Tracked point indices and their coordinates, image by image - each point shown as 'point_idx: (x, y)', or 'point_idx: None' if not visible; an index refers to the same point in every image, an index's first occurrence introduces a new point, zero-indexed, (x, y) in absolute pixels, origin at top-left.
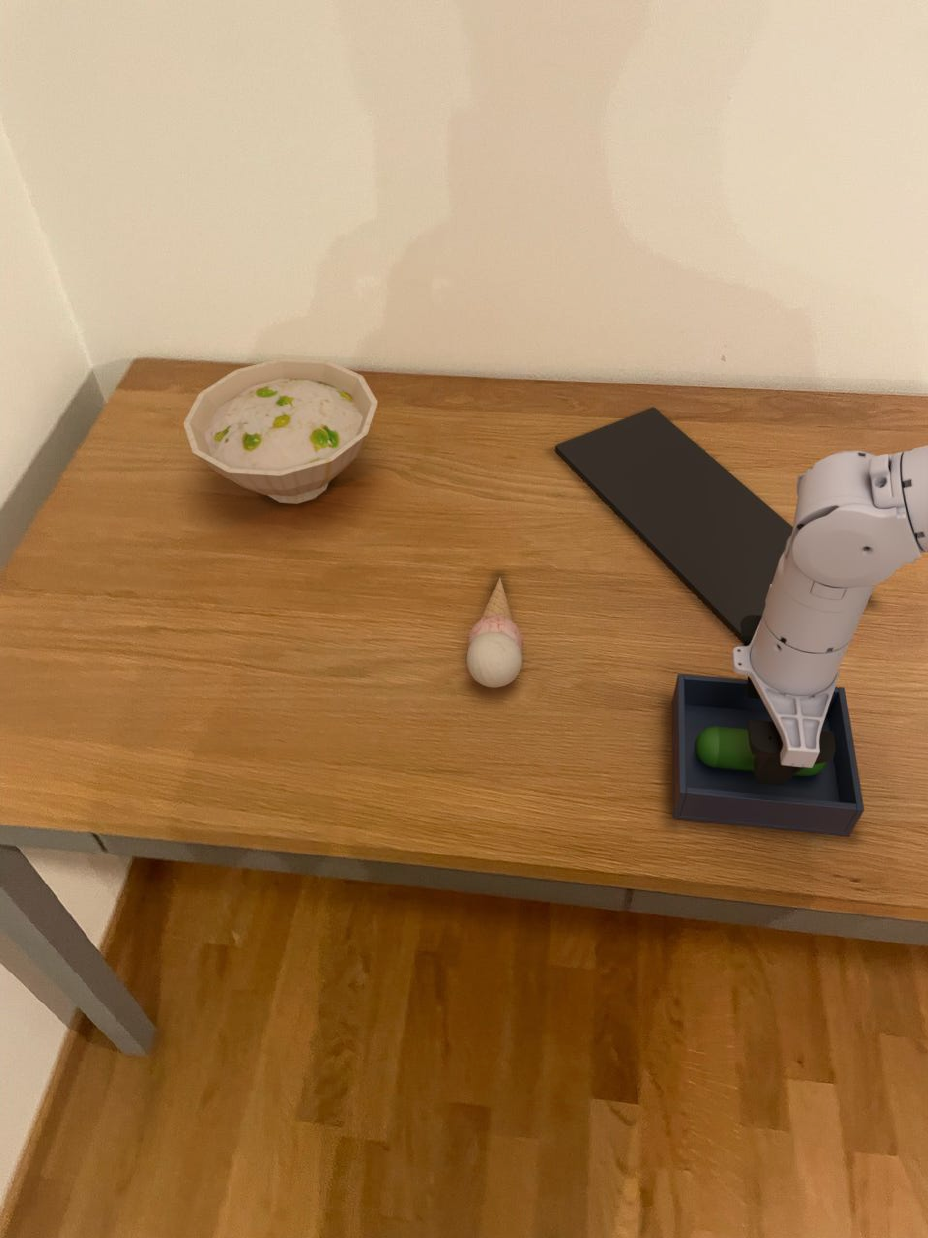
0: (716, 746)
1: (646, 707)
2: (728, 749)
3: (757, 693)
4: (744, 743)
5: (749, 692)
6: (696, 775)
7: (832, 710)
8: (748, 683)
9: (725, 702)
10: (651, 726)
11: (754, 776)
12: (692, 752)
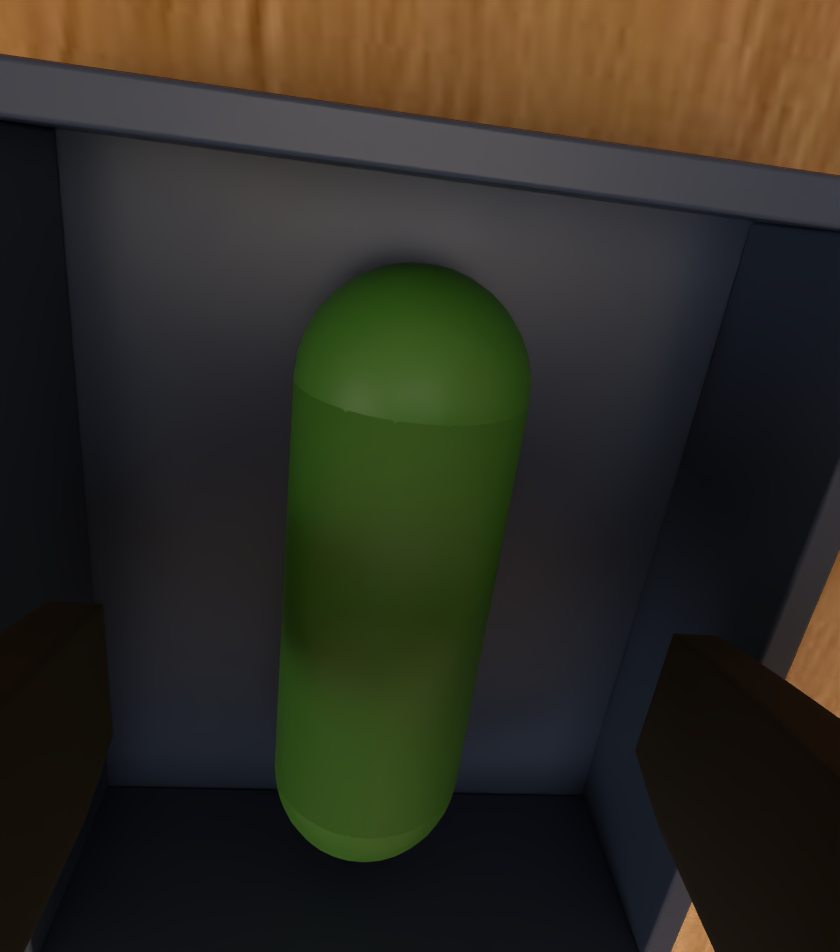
0: (352, 394)
1: (772, 28)
2: (333, 463)
3: (684, 702)
4: (367, 560)
5: (700, 662)
6: (295, 258)
7: (587, 849)
8: (760, 707)
9: (705, 465)
10: (641, 42)
11: (17, 622)
12: (440, 256)
